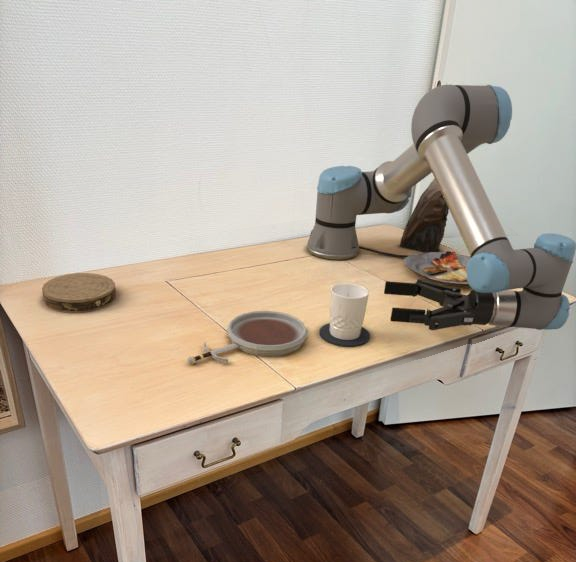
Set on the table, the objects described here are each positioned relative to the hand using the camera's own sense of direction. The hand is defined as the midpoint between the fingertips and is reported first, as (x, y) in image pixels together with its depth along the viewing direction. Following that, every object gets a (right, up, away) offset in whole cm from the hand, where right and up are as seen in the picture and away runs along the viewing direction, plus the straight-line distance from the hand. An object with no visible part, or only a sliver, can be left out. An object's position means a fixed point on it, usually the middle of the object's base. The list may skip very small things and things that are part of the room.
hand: (387, 300), depth 121 cm
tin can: (-69, +2, +13) cm, 70 cm away
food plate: (+24, +13, +40) cm, 48 cm away
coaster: (-9, -7, +5) cm, 12 cm away
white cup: (-9, -7, +5) cm, 12 cm away
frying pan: (-30, -10, -2) cm, 31 cm away
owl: (+20, +25, +58) cm, 66 cm away
